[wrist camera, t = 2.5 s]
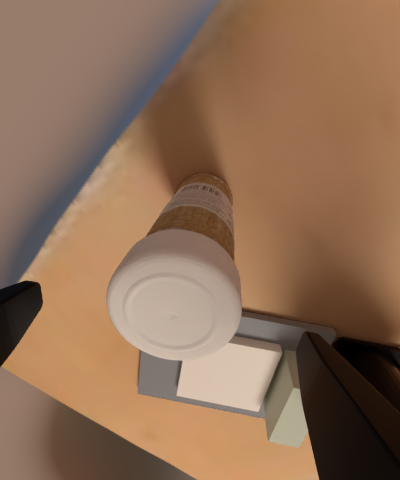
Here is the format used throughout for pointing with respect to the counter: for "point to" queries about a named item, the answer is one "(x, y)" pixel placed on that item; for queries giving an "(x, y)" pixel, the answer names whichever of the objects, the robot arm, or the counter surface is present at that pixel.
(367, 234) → the counter surface
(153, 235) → the sprinkles bottle
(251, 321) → the board
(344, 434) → the robot arm
